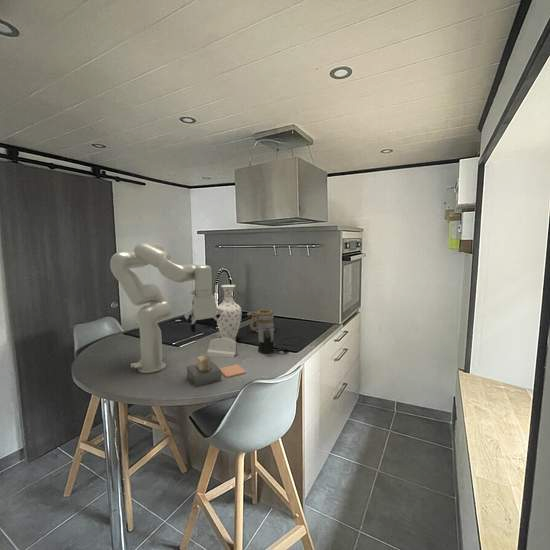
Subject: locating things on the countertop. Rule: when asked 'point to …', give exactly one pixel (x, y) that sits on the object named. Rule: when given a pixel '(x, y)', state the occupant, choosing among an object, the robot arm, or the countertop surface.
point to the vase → (229, 314)
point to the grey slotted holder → (203, 375)
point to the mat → (232, 371)
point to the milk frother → (267, 339)
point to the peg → (203, 363)
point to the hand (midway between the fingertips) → (204, 330)
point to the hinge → (222, 347)
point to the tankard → (261, 319)
